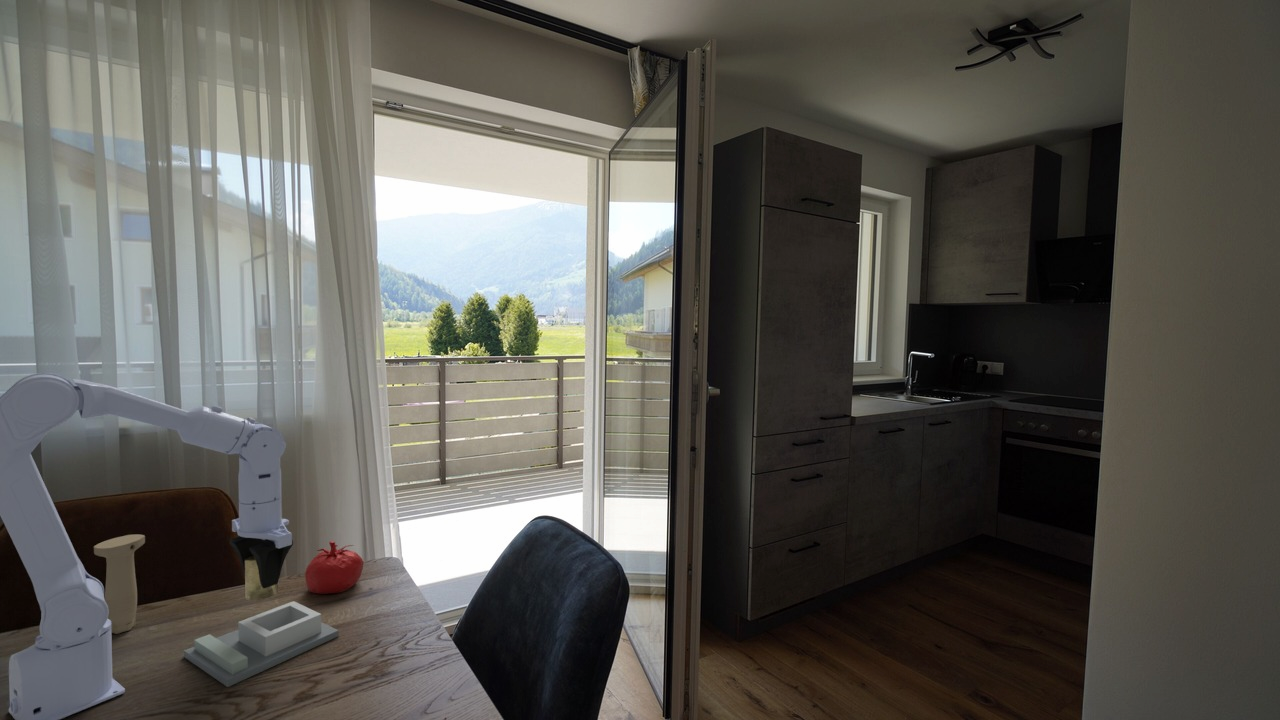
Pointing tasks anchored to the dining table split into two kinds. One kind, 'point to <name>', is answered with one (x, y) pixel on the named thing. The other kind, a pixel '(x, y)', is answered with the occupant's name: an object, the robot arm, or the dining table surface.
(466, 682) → the dining table surface
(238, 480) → the robot arm
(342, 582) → the red tomato
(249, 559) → the brass cylinder
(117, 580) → the handle
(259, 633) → the jig
